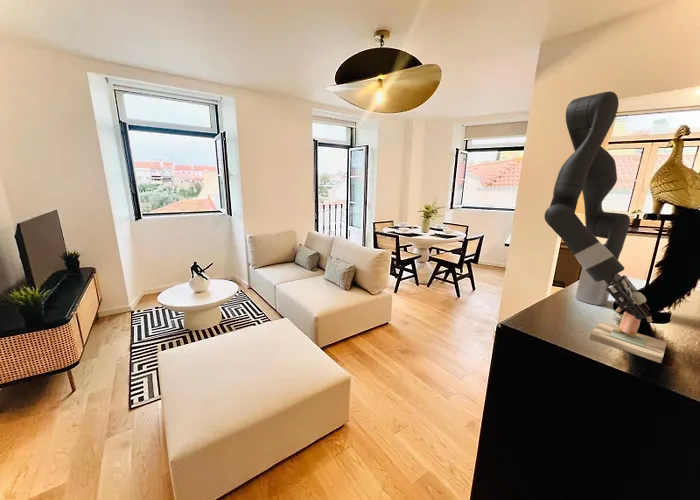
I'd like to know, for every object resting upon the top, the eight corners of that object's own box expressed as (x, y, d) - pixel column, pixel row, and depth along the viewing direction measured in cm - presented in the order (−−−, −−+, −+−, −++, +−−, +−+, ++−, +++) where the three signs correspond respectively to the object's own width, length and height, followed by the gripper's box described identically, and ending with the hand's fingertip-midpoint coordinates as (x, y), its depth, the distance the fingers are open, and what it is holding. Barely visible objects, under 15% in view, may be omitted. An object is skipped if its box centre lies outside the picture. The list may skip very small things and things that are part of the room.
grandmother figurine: (608, 330, 83) (618, 290, 79) (612, 325, 85) (622, 286, 81) (645, 342, 76) (657, 299, 73) (649, 337, 78) (661, 295, 75)
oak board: (599, 326, 88) (600, 321, 88) (665, 347, 78) (667, 341, 77) (589, 338, 81) (590, 333, 80) (660, 363, 70) (662, 357, 70)
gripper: (606, 258, 75) (658, 317, 69) (617, 251, 84) (664, 302, 78) (577, 272, 80) (623, 327, 74) (590, 264, 89) (632, 313, 83)
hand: (644, 314), depth 76 cm, fingers open, 6 cm apart
